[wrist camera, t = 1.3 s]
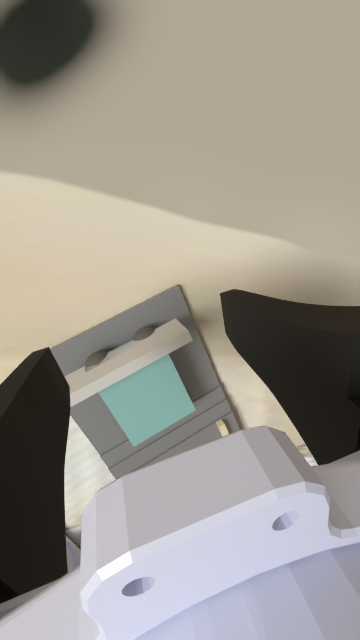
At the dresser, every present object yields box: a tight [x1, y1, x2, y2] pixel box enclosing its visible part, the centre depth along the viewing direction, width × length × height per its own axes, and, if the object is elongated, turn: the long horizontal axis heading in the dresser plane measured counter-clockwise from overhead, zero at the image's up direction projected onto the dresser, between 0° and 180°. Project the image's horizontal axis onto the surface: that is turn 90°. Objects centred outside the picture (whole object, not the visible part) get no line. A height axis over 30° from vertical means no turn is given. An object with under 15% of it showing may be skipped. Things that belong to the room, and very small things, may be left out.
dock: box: [50, 285, 240, 479], centre depth 25 cm, size 12×22×2 cm, turn 23°
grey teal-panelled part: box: [65, 318, 196, 446], centre depth 22 cm, size 9×8×4 cm
